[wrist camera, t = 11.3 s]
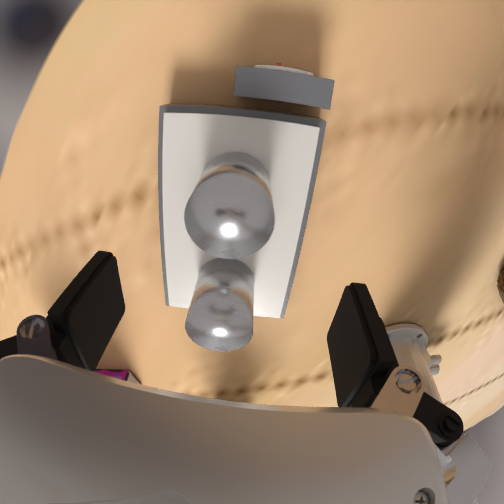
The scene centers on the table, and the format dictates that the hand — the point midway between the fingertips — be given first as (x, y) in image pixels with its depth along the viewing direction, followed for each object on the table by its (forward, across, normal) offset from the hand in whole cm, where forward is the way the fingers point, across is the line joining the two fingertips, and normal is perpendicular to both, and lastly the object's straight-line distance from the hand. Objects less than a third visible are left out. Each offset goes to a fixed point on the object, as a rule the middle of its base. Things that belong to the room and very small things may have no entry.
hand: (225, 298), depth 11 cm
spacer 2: (+12, +1, +8) cm, 14 cm away
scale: (+15, +1, +1) cm, 15 cm away
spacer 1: (+12, +1, -1) cm, 12 cm away
